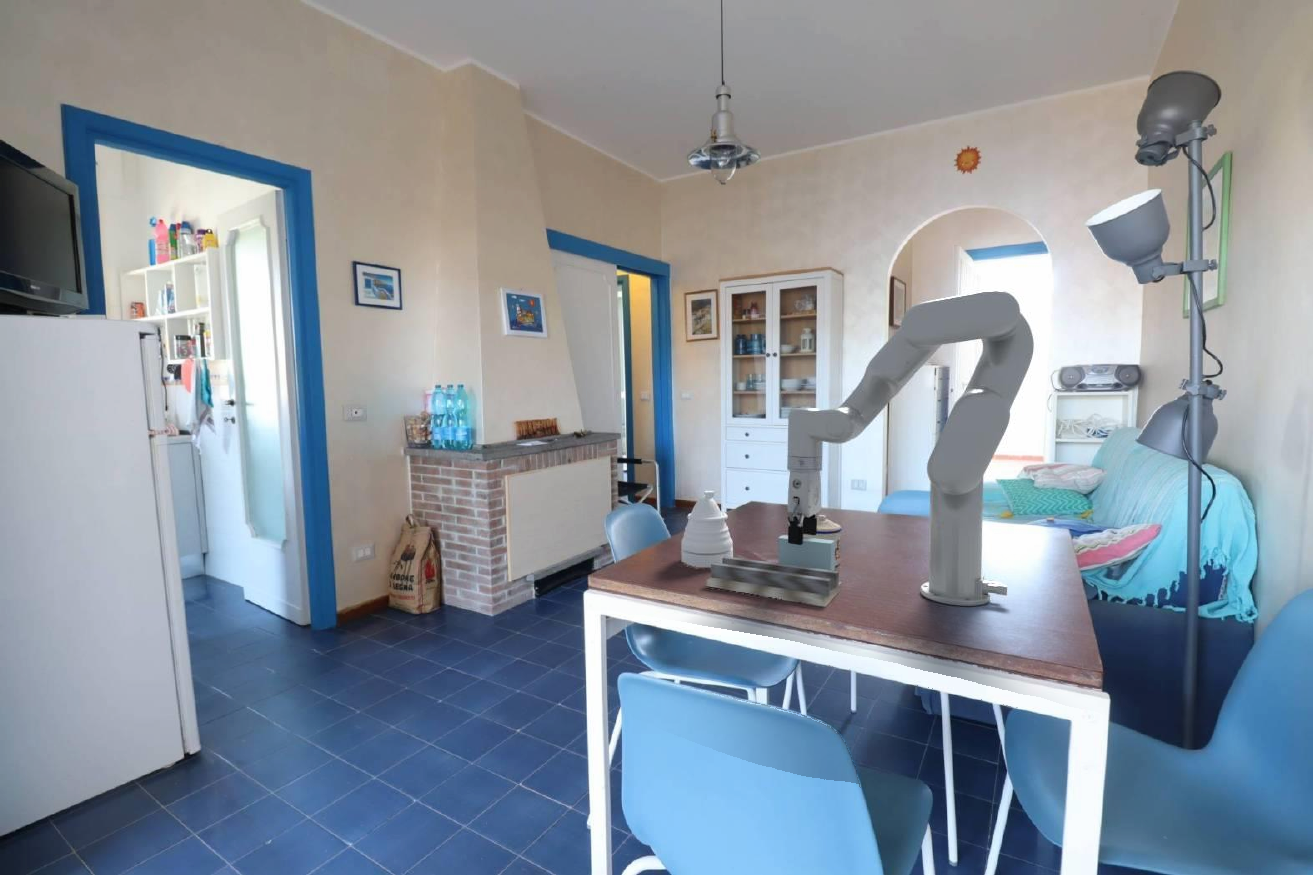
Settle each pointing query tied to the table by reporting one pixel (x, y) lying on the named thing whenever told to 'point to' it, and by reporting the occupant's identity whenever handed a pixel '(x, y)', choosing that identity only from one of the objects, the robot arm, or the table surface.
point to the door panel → (807, 553)
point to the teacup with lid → (829, 534)
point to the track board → (776, 580)
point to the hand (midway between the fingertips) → (802, 539)
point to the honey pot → (706, 534)
